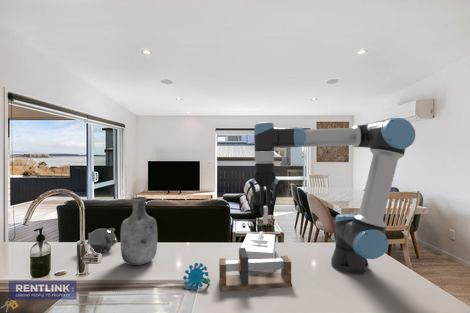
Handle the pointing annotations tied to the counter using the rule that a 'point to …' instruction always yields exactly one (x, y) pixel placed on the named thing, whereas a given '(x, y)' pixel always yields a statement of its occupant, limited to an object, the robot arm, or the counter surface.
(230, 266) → the light grey bar
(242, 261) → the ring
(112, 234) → the piggy bank
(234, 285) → the wooden stand
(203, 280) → the gear
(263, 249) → the white pegged block
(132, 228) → the vase
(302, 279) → the counter surface
